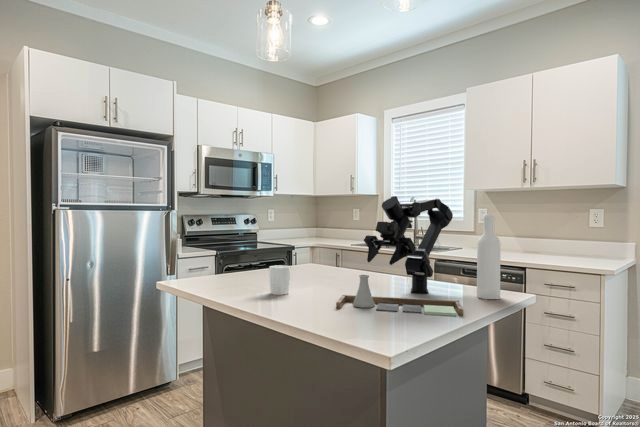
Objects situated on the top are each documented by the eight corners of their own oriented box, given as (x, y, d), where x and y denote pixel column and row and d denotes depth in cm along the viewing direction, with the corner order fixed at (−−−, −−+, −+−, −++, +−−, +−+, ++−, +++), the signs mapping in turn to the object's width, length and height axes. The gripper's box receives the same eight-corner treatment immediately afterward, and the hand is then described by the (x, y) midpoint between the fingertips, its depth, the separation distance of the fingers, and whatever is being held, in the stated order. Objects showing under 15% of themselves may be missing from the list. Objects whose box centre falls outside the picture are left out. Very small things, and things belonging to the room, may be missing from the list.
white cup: (278, 290, 160) (278, 264, 160) (294, 293, 155) (294, 266, 155) (264, 293, 153) (264, 266, 153) (280, 296, 149) (280, 268, 149)
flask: (374, 309, 130) (374, 277, 130) (351, 308, 131) (351, 276, 131) (375, 304, 137) (376, 274, 137) (354, 303, 139) (354, 273, 138)
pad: (423, 307, 132) (423, 304, 132) (453, 309, 131) (453, 306, 131) (424, 314, 124) (424, 311, 124) (456, 316, 122) (456, 313, 122)
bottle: (483, 300, 144) (483, 214, 144) (472, 295, 152) (473, 214, 152) (504, 299, 145) (505, 214, 145) (493, 295, 153) (494, 214, 153)
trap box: (342, 300, 142) (342, 294, 142) (458, 306, 133) (458, 300, 133) (336, 308, 130) (336, 302, 130) (463, 316, 122) (463, 309, 122)
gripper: (366, 213, 150) (346, 245, 142) (411, 213, 137) (392, 249, 129) (379, 233, 156) (361, 266, 148) (423, 236, 143) (406, 271, 135)
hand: (378, 262), depth 140 cm, fingers open, 9 cm apart
